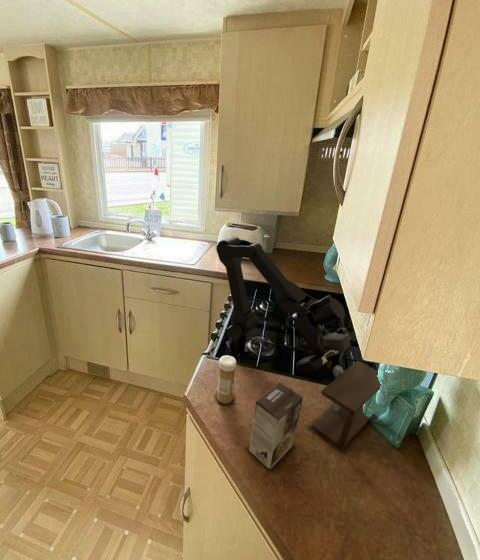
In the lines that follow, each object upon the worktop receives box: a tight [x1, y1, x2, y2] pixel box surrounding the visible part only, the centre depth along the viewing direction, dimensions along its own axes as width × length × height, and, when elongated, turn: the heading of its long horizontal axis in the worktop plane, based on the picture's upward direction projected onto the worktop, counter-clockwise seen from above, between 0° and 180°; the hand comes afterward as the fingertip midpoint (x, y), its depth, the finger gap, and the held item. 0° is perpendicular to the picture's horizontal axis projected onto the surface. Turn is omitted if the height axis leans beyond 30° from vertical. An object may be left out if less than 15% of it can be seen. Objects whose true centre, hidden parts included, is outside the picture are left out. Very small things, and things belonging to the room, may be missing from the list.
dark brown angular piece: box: [311, 360, 381, 451], centre depth 80 cm, size 8×18×13 cm, turn 129°
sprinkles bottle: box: [216, 355, 237, 404], centre depth 86 cm, size 5×5×13 cm
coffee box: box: [248, 381, 304, 470], centre depth 71 cm, size 9×6×16 cm
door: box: [333, 365, 345, 411], centre depth 85 cm, size 5×8×10 cm, turn 129°
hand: (340, 383), depth 85 cm, fingers open, 3 cm apart
